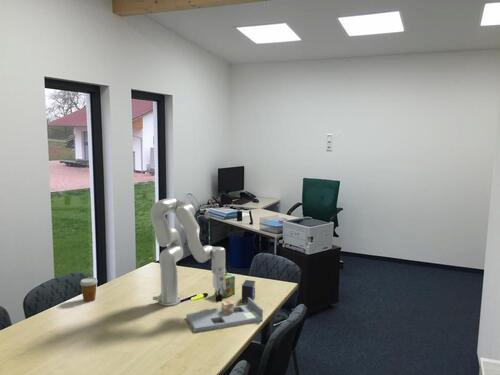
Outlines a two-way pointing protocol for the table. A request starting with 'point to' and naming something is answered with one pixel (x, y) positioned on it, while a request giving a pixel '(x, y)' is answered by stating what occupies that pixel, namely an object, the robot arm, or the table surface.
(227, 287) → the chalk box
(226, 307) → the beech block
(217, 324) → the trap deck
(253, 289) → the small box
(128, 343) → the table surface
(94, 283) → the disposable coffee cup
